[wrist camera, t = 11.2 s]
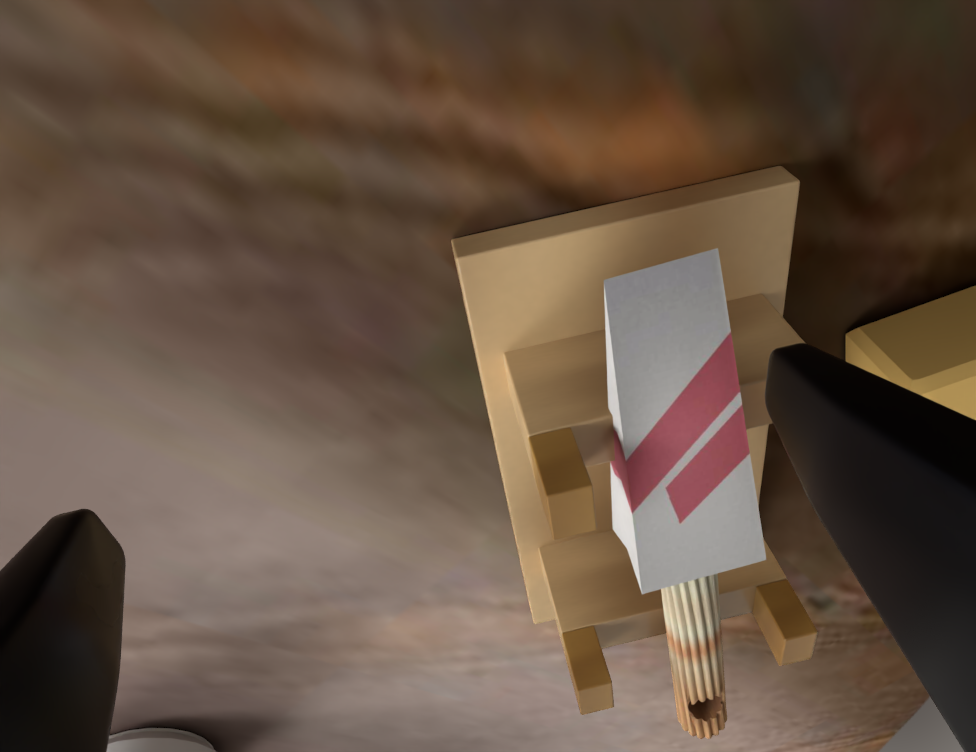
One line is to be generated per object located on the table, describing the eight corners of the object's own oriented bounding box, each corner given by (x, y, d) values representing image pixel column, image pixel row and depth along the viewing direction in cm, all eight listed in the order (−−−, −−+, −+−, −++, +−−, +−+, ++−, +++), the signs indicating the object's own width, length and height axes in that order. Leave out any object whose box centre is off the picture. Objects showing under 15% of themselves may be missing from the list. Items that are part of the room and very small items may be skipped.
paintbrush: (771, 268, 16) (763, 738, 27) (719, 221, 18) (731, 673, 29) (601, 314, 16) (664, 765, 27) (569, 262, 18) (640, 698, 29)
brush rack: (781, 164, 21) (939, 292, 16) (738, 551, 33) (820, 701, 28) (450, 238, 21) (491, 395, 15) (528, 602, 33) (567, 763, 27)
